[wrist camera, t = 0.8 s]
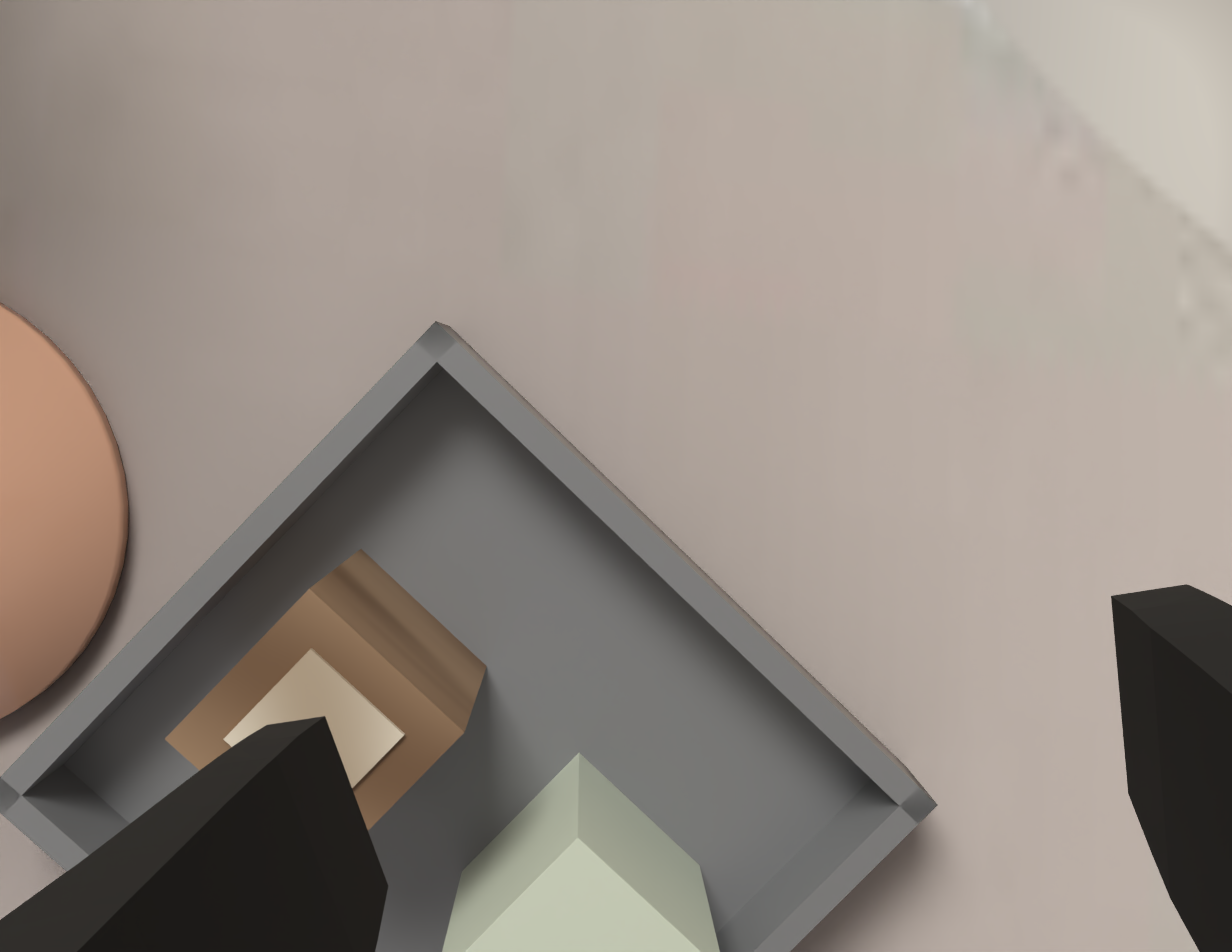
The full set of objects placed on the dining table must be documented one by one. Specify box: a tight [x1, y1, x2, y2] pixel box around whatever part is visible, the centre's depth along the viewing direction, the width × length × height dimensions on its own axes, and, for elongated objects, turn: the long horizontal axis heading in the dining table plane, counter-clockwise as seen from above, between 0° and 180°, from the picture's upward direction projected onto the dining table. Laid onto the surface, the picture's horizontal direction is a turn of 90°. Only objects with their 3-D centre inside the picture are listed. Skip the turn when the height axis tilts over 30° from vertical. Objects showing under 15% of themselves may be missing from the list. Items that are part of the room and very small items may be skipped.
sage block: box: [442, 753, 720, 952], centre depth 25 cm, size 4×4×5 cm
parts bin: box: [0, 321, 937, 952], centre depth 26 cm, size 14×15×2 cm
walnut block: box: [165, 549, 487, 830], centre depth 24 cm, size 4×4×5 cm
